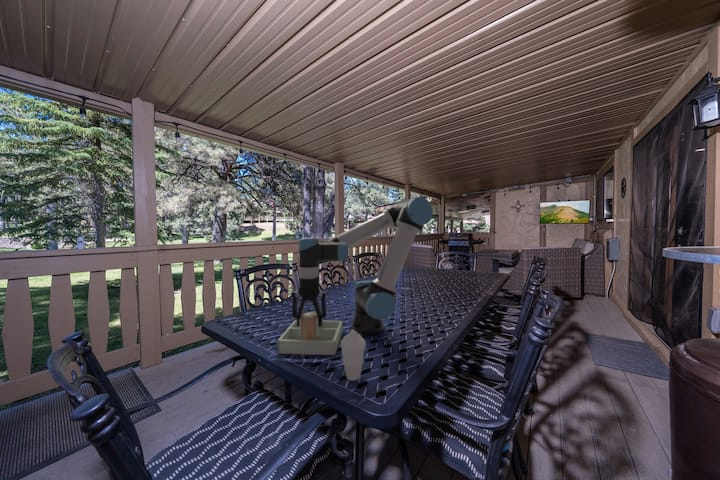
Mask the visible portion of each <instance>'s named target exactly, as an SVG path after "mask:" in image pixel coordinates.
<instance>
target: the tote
mask: <svg viewBox="0 0 720 480" xmlns="http://www.w3.org/2000/svg"><path fill="white" fill-rule="evenodd" d="M343 325H344V324H343V320H323V328H319V330H320V333H319V335H318V336H317V338H316V339H314V340H304V339H302V335H301V336H300V332H299V327H298V326H297V319H295V320H293V322H292V323H291V324H290V325H289V326H288V328H287V329H286V330H285V331H284V332H283V333H282V334H281V336H280V337H279V338H278V339H277V340H276V347H277V348H276V349H277V352H276V353H277V354H278V355H281V354H282V355H283V354H285V355H311V356H312V355H313V356H314V355H315V356H316V355H317V356H319V355H320V356H322V355H323V356H335V355H336V354H337V350H338V347H339V346H340V343H341V340H342V339H341V338H342V335H343V331H344V329H343Z"/></svg>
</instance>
